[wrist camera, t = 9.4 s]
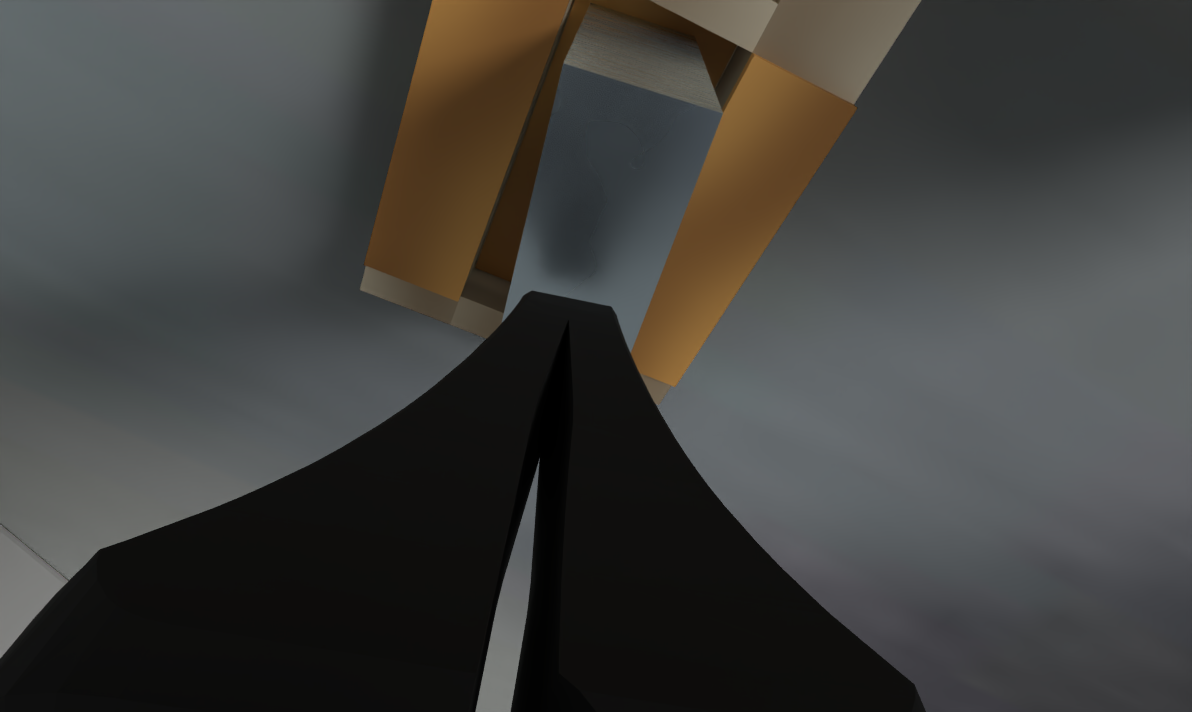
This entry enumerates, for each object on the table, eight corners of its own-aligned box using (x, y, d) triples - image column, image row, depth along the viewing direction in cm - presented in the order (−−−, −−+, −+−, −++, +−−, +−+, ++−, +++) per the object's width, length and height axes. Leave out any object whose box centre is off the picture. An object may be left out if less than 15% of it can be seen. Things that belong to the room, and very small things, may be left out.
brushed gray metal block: (694, 36, 15) (723, 113, 10) (609, 289, 19) (596, 440, 14) (590, 2, 15) (563, 63, 10) (525, 266, 19) (480, 412, 14)
